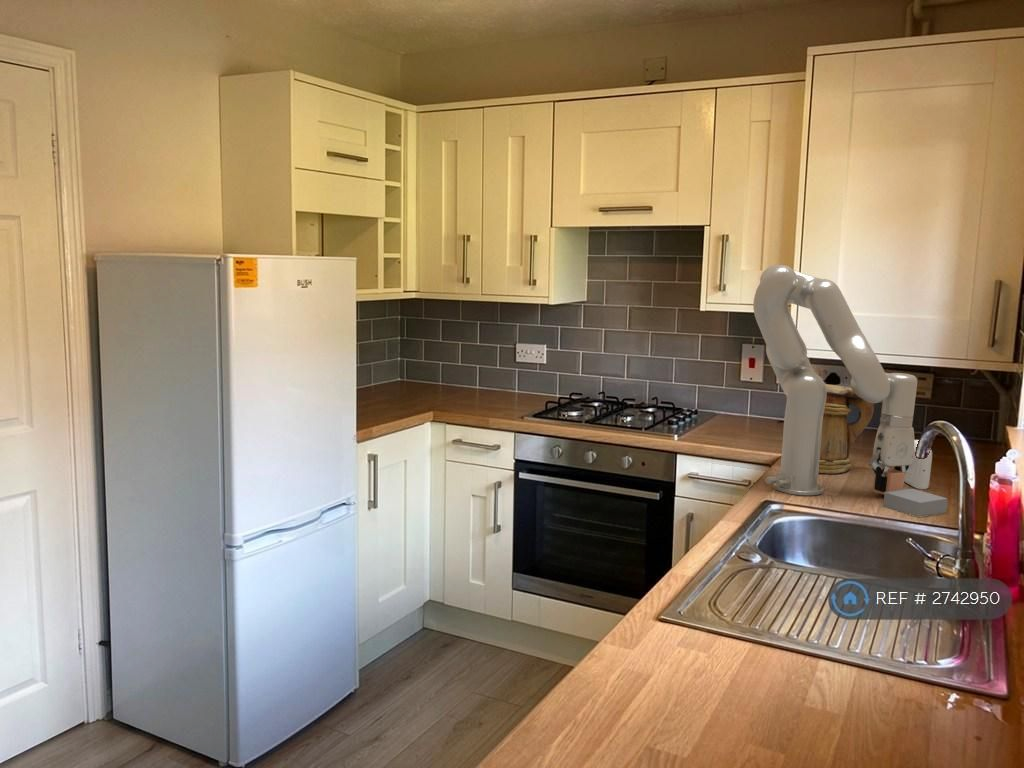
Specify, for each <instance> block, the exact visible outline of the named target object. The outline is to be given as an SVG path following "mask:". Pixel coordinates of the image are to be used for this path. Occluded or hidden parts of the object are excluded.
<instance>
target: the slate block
mask: <svg viewBox="0 0 1024 768" xmlns="http://www.w3.org/2000/svg"><path fill="white" fill-rule="evenodd" d="M947 506H948V498H946V497H944V496H941V495H936V494H933V493H930V492H926V491H923V490H920V489H917V488H905V489H904V488H903V490H897V491H890V492H885V494H884V496H883V507H884V508H888V509H890V510H893V511H896V510H897V512H899V511H900V513H902V512H904V513H903V514H906V513H907V514H906V515H909V514H911V515H910V516H912V515H914V516H913V517H915V516H918V517H920V516H926V517H929V516H928V515H932V516H936V515H935V514H938V515H942V514H941V513H944V514H946V513H947V508H948V507H947ZM918 517H917V518H918ZM920 518H921V517H920Z"/></svg>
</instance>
